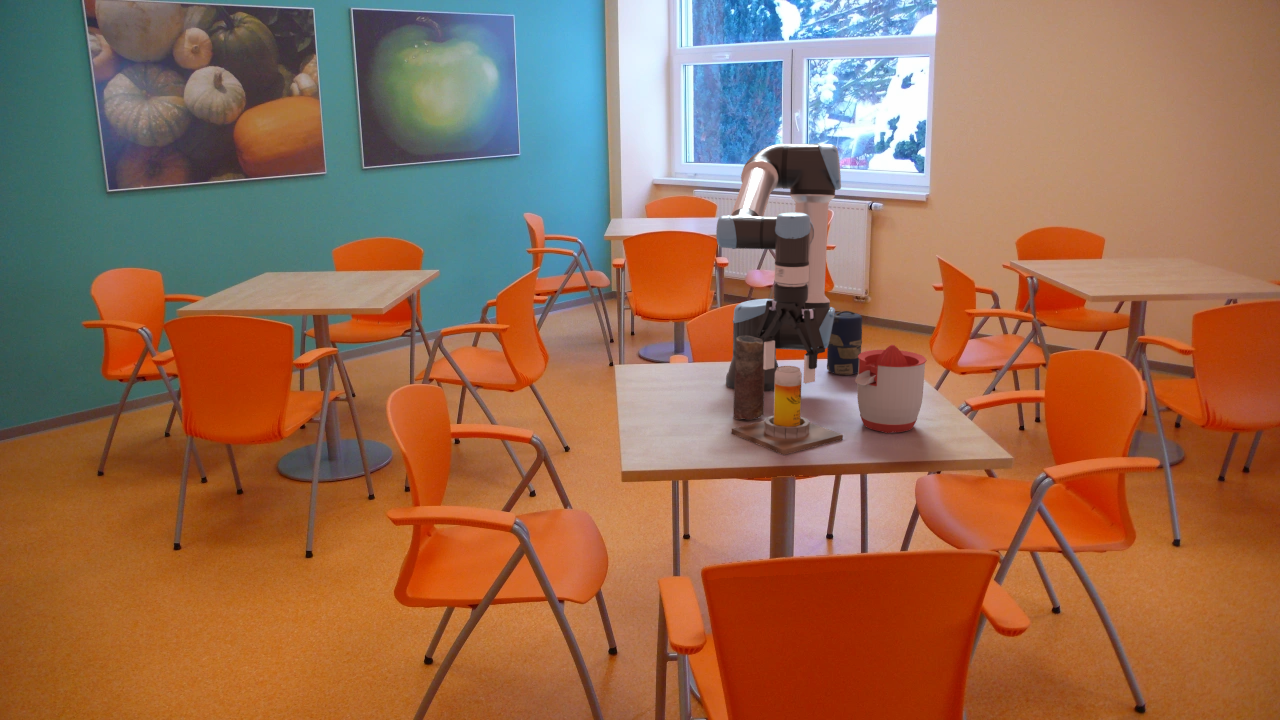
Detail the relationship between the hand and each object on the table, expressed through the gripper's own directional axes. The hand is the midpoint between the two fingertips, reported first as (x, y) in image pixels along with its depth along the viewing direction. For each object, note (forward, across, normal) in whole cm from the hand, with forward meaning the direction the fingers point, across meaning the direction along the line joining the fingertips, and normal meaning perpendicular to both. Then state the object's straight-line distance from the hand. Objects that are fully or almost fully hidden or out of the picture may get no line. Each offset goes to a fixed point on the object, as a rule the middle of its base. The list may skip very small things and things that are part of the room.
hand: (788, 375), depth 225 cm
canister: (+16, -33, +51) cm, 62 cm away
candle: (+15, -16, +2) cm, 22 cm away
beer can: (+14, 0, 0) cm, 14 cm away
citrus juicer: (+15, +8, +24) cm, 29 cm away
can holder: (+15, 0, 0) cm, 15 cm away
